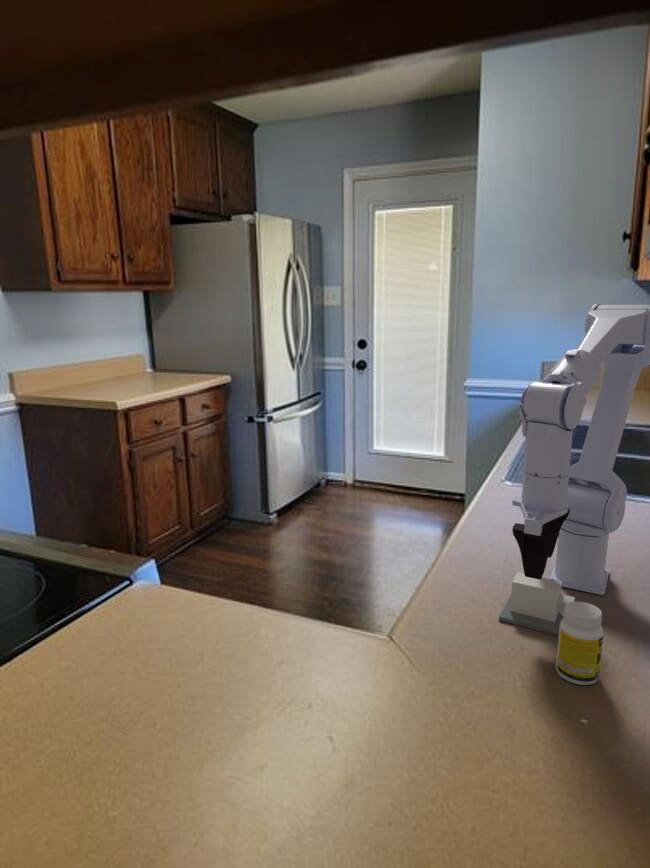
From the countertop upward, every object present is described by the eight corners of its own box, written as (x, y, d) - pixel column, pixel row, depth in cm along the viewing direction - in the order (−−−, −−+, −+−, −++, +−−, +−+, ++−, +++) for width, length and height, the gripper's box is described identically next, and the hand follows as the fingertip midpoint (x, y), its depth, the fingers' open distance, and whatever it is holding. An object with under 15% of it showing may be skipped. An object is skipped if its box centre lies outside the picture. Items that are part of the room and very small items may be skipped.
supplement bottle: (603, 689, 67) (610, 622, 65) (559, 684, 68) (565, 618, 66) (593, 664, 71) (599, 601, 69) (552, 659, 72) (557, 597, 70)
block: (515, 600, 85) (517, 572, 84) (573, 614, 81) (576, 584, 80) (510, 611, 82) (512, 581, 81) (569, 626, 78) (572, 595, 78)
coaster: (512, 596, 88) (512, 592, 88) (568, 609, 84) (569, 605, 84) (498, 620, 81) (499, 616, 81) (560, 636, 77) (560, 632, 77)
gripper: (526, 456, 86) (520, 542, 89) (502, 482, 74) (496, 580, 77) (577, 462, 83) (569, 551, 86) (561, 490, 70) (553, 593, 73)
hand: (538, 566), depth 81 cm, fingers open, 7 cm apart
